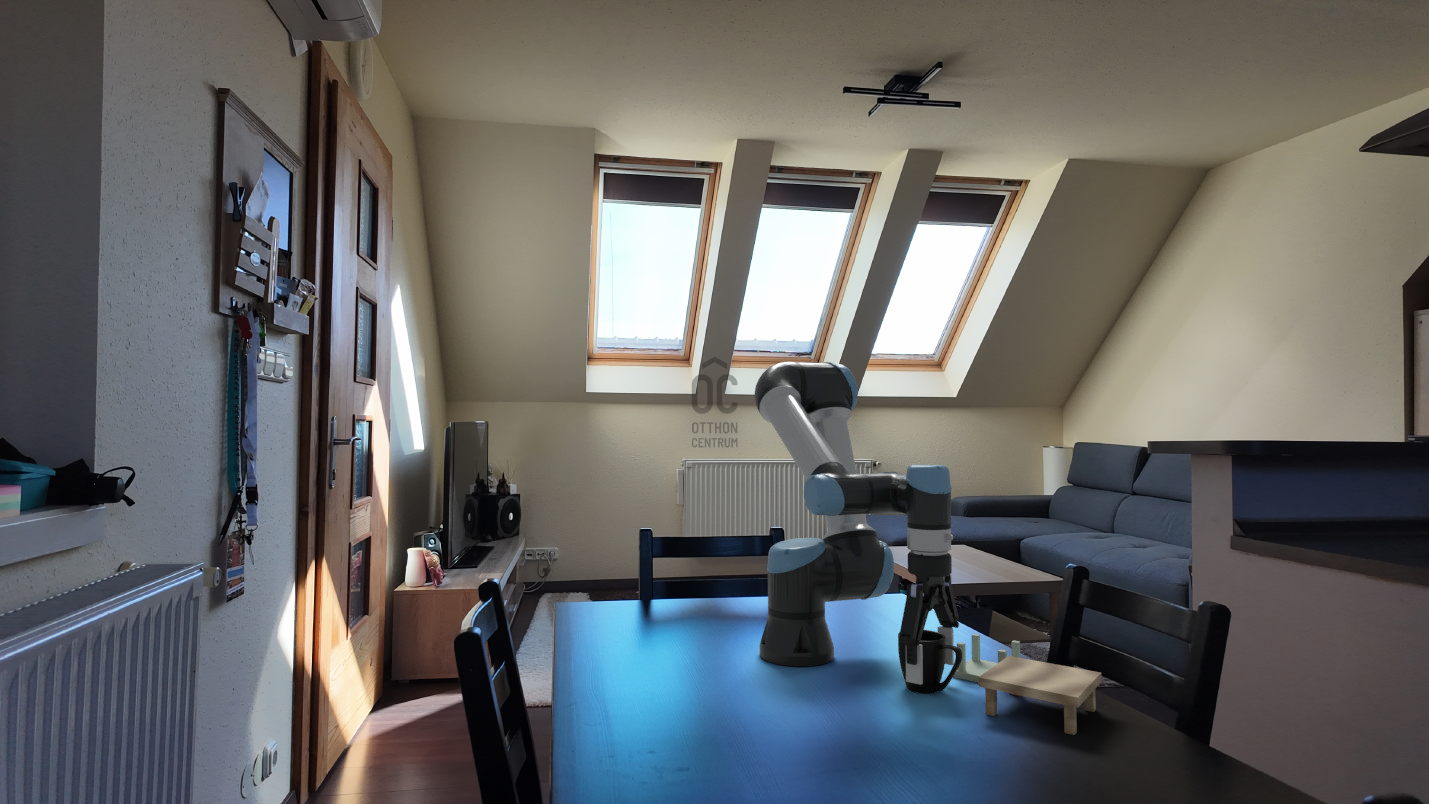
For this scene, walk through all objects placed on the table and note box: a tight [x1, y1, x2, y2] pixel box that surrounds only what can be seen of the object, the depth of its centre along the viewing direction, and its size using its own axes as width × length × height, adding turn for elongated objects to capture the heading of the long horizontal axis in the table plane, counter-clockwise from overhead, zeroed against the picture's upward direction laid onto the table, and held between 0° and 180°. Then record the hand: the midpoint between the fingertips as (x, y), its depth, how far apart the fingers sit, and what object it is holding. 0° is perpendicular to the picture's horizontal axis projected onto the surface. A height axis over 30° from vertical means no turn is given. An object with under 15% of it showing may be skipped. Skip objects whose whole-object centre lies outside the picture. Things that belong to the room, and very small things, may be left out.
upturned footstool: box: [953, 633, 1021, 684], centre depth 143 cm, size 10×10×6 cm
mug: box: [897, 629, 962, 695], centre depth 134 cm, size 8×12×10 cm
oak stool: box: [978, 655, 1102, 736], centre depth 124 cm, size 15×15×6 cm
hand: (930, 672), depth 134 cm, fingers open, 13 cm apart
